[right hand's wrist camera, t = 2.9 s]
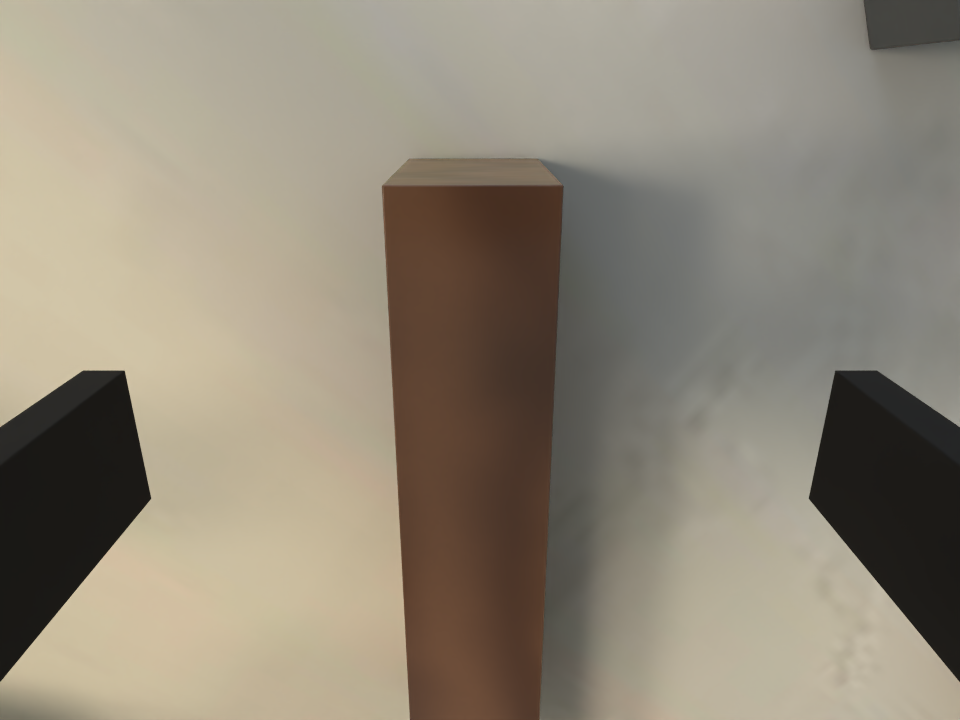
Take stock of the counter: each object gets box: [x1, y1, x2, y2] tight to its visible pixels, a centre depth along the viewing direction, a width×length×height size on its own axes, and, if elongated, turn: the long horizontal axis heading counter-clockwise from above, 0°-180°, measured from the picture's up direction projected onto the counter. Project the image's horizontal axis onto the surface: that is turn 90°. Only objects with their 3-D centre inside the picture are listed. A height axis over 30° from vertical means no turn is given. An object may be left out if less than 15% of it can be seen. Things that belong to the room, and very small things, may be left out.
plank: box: [382, 159, 563, 720], centre depth 27 cm, size 5×28×8 cm, turn 0°
